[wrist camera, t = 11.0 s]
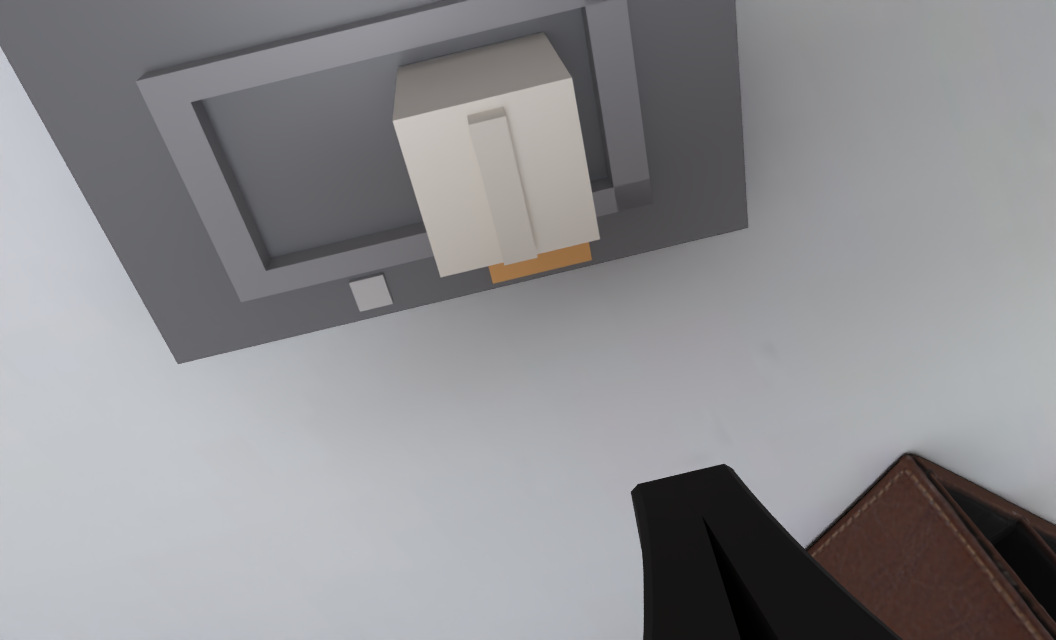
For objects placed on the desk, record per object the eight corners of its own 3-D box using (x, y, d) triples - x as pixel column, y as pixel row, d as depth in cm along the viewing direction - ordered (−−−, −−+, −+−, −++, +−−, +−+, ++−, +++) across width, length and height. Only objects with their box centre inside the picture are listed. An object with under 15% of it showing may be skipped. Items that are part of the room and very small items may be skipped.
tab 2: (543, 32, 16) (577, 85, 12) (569, 170, 17) (605, 251, 14) (397, 66, 16) (391, 130, 12) (437, 201, 17) (441, 290, 14)
